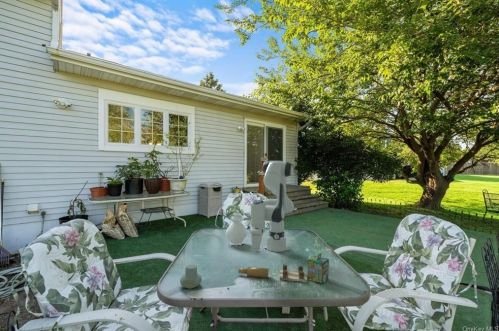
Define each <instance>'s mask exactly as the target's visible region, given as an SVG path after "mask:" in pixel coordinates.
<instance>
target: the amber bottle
mask: <svg viewBox="0 0 499 331" xmlns="http://www.w3.org/2000/svg"><path fill="white" fill-rule="evenodd" d="M269 271H270V270H269V268H267V267H255V266H247V268H238V274H245V275H246V277H251V278H262V279H263V278H265V279H269Z"/></svg>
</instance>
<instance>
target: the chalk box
mask: <svg viewBox="0 0 499 331" xmlns="http://www.w3.org/2000/svg"><path fill="white" fill-rule="evenodd" d="M329 268H330V259H329V258H328V257H327V258H326V257H322V252H320V253H319V254H318V255H315V254H314V255H313V256H311V257H310V258H308V259H307V280H308V279H311V280H315V281H318V282H321V283H323V282H324V281H325V280H327V279H328V278H329V275H330V274H329V270H330V269H329ZM311 280H310V281H311ZM328 280H329V279H328ZM328 280H327V281H328ZM324 283H325V282H324ZM324 283H323V284H324Z"/></svg>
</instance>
